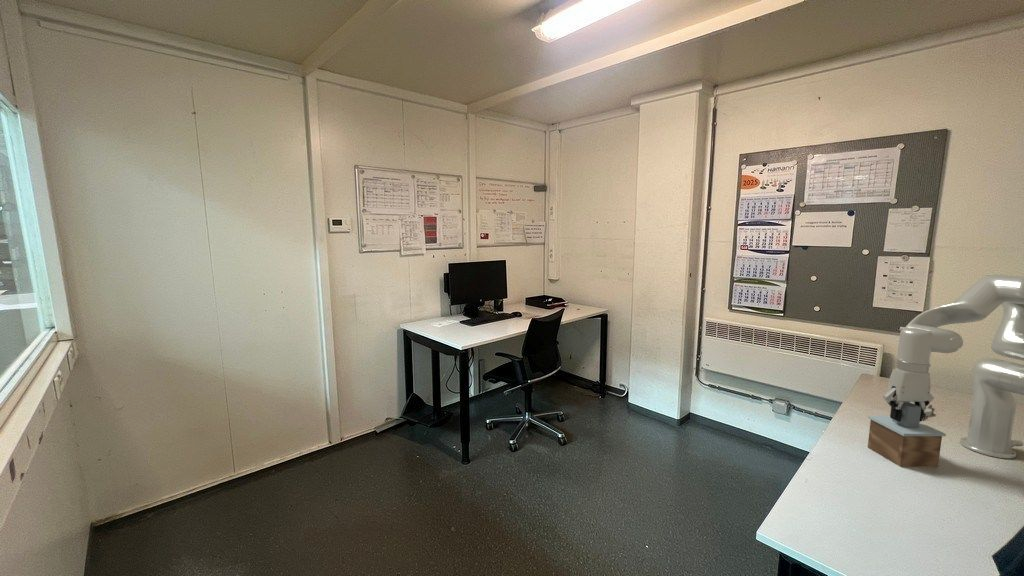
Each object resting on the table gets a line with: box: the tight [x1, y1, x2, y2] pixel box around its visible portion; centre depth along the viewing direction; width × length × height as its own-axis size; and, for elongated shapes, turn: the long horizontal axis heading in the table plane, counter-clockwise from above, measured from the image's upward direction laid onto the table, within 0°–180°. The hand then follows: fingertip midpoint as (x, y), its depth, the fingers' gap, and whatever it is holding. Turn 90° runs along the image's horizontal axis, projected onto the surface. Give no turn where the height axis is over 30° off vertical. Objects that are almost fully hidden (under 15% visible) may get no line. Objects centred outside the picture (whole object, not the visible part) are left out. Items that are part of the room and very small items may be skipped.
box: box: [867, 419, 943, 468], centre depth 135 cm, size 12×12×10 cm
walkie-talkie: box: [910, 402, 933, 419], centre depth 170 cm, size 9×4×20 cm
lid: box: [867, 401, 947, 437], centre depth 134 cm, size 13×13×9 cm
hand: (905, 419), depth 134 cm, fingers open, 6 cm apart
